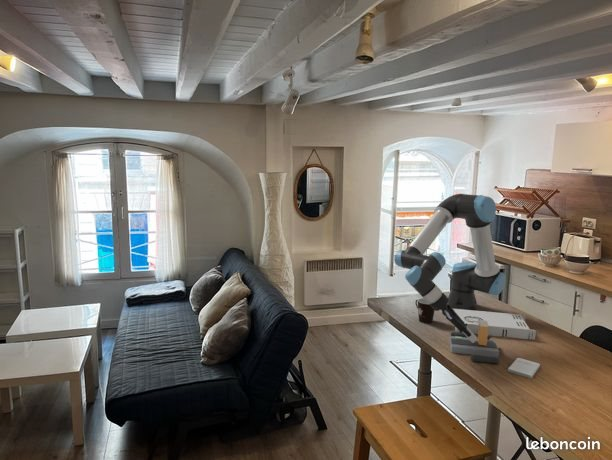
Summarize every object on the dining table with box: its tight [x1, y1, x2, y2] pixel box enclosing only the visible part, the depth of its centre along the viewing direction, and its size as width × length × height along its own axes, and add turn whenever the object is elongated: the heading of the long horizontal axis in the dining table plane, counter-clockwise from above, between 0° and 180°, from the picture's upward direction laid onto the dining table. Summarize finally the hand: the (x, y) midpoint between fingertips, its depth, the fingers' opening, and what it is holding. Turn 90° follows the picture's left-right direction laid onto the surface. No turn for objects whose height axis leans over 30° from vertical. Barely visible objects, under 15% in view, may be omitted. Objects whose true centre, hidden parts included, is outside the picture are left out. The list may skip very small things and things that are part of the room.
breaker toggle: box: [478, 320, 489, 346], centre depth 181 cm, size 3×4×9 cm
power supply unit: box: [452, 308, 537, 340], centre depth 205 cm, size 19×33×5 cm, turn 77°
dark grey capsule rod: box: [470, 355, 500, 365], centre depth 171 cm, size 10×2×2 cm, turn 76°
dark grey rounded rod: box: [450, 331, 491, 340], centre depth 193 cm, size 16×2×2 cm, turn 76°
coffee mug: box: [415, 297, 436, 324], centre depth 213 cm, size 12×9×10 cm
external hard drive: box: [507, 357, 541, 379], centre depth 167 cm, size 2×8×12 cm
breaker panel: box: [448, 335, 500, 359], centre depth 183 cm, size 18×11×3 cm, turn 76°
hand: (475, 340), depth 182 cm, fingers closed
